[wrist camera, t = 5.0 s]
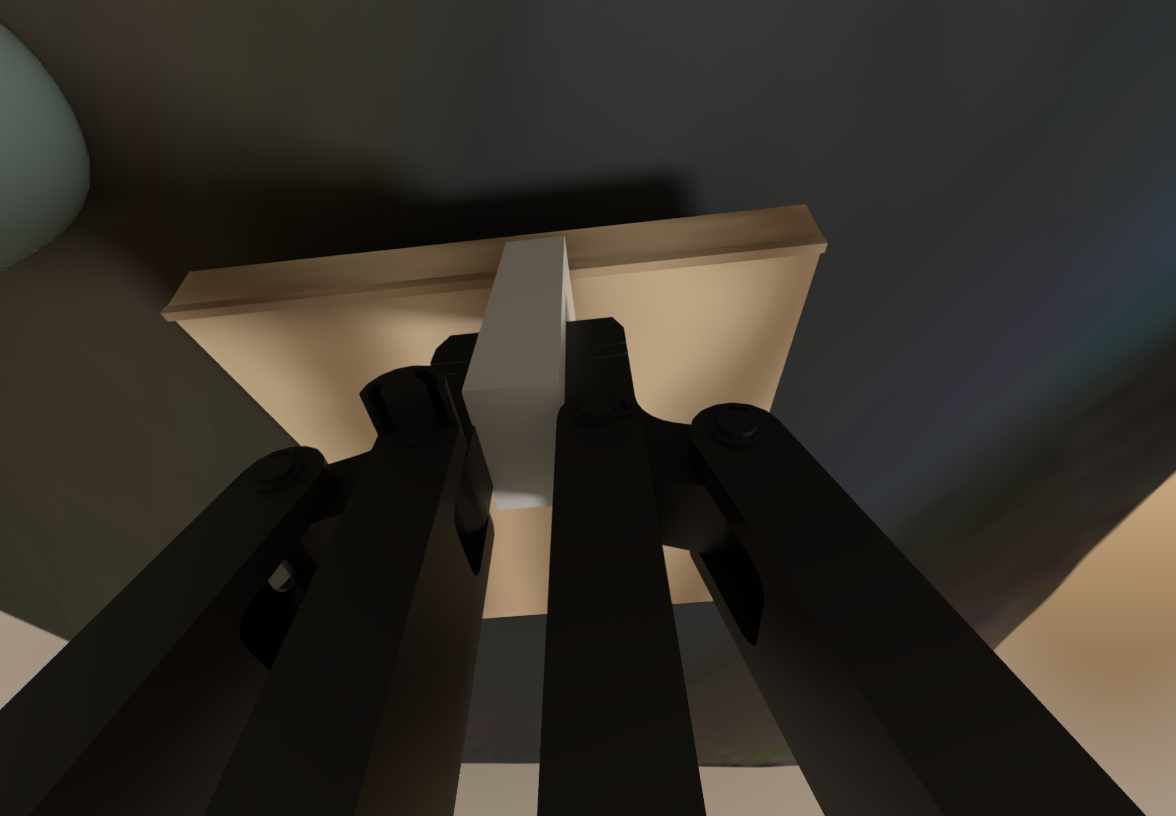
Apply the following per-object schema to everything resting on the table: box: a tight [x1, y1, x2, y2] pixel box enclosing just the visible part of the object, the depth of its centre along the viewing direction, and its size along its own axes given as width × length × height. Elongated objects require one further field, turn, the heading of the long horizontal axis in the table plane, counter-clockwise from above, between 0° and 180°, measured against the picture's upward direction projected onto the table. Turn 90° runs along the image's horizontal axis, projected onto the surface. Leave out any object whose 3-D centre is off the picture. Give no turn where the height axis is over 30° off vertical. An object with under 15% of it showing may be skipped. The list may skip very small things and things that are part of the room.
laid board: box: [482, 492, 713, 618], centre depth 26 cm, size 18×11×2 cm, turn 96°
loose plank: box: [160, 204, 828, 464], centre depth 18 cm, size 18×10×2 cm, turn 96°
